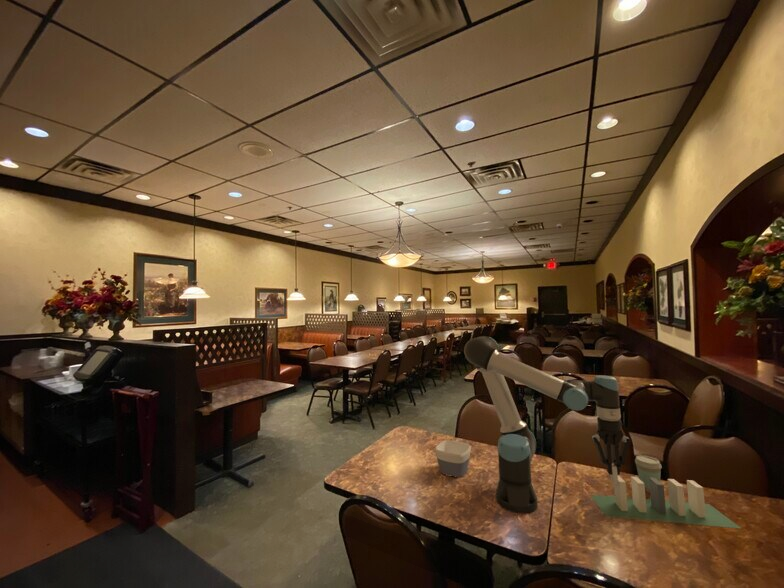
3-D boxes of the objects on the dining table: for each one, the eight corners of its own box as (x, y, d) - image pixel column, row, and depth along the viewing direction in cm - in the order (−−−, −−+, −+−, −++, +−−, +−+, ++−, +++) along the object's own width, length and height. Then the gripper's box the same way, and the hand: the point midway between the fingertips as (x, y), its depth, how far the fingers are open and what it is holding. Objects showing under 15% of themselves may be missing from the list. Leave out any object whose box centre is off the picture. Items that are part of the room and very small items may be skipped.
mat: (605, 517, 112) (605, 516, 112) (589, 495, 126) (589, 494, 126) (741, 529, 104) (741, 528, 104) (709, 505, 118) (708, 503, 118)
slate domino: (659, 513, 113) (657, 484, 114) (651, 505, 118) (649, 477, 119) (666, 514, 113) (663, 484, 113) (657, 506, 117) (655, 477, 118)
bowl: (475, 468, 151) (474, 444, 152) (464, 483, 138) (463, 456, 139) (445, 461, 159) (444, 438, 160) (431, 474, 146) (431, 449, 147)
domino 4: (699, 517, 111) (696, 487, 111) (689, 508, 115) (686, 480, 116) (706, 517, 110) (703, 487, 111) (695, 509, 115) (692, 480, 116)
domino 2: (640, 512, 114) (638, 483, 115) (632, 504, 119) (630, 476, 120) (646, 512, 114) (644, 483, 115) (638, 504, 119) (636, 476, 119)
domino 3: (679, 515, 112) (676, 485, 112) (670, 507, 117) (667, 478, 117) (685, 516, 111) (683, 486, 112) (676, 507, 116) (673, 479, 117)
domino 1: (621, 510, 115) (619, 481, 116) (614, 502, 120) (612, 475, 121) (627, 511, 115) (625, 482, 116) (620, 503, 120) (618, 475, 121)
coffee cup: (669, 496, 124) (666, 464, 125) (644, 495, 125) (641, 463, 126) (655, 485, 132) (653, 455, 133) (632, 483, 134) (630, 454, 135)
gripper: (593, 420, 118) (599, 487, 116) (633, 421, 115) (639, 490, 113) (586, 414, 125) (590, 477, 123) (623, 415, 123) (628, 479, 121)
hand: (614, 483), depth 118 cm, fingers closed
